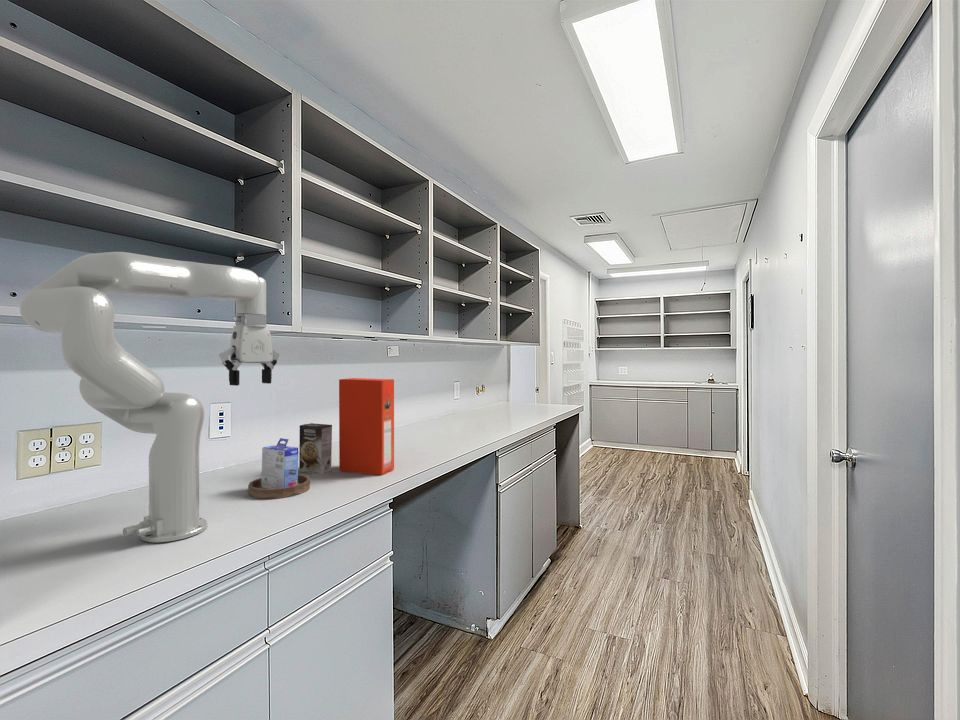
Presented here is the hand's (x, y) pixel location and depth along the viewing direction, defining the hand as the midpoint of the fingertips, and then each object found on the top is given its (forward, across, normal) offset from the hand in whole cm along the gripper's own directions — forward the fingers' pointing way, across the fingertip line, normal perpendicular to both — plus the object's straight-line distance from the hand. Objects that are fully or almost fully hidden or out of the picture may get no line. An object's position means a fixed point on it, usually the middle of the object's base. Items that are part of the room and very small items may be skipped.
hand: (251, 384), depth 124 cm
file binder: (+32, +41, -5) cm, 53 cm away
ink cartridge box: (+32, +11, +2) cm, 34 cm away
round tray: (+32, +11, +2) cm, 34 cm away
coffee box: (+32, +32, +10) cm, 47 cm away
